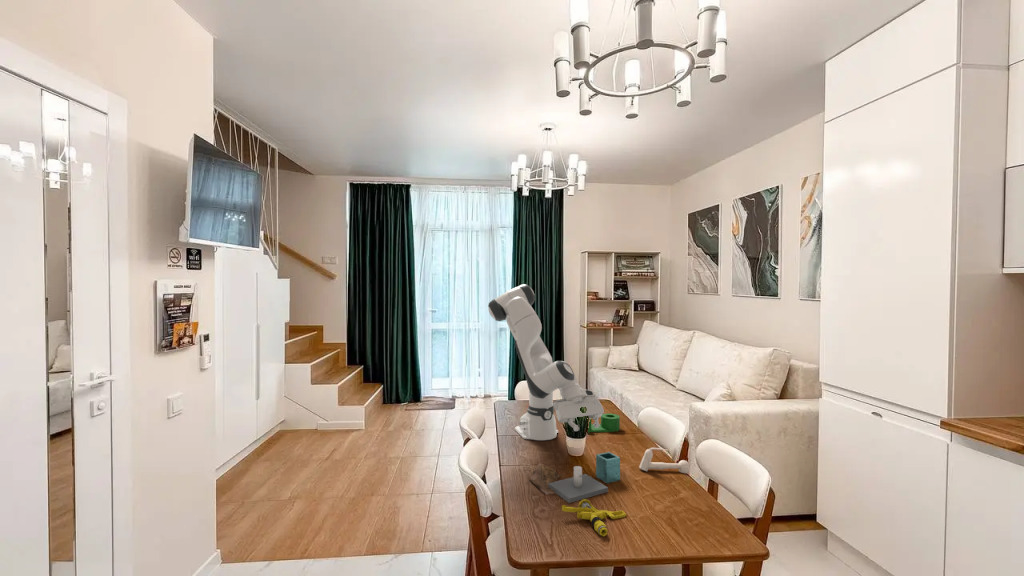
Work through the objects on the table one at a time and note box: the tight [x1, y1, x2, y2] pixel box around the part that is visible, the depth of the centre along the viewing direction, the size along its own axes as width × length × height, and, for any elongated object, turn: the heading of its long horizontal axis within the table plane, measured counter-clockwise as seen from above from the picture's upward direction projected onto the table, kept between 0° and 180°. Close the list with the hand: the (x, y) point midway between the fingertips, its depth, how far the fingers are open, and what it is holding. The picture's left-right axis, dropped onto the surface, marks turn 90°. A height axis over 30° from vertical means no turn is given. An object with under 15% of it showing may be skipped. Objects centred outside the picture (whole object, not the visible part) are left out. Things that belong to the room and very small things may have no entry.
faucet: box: [639, 447, 691, 474], centre depth 160 cm, size 4×18×10 cm, turn 86°
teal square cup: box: [595, 451, 621, 484], centre depth 153 cm, size 6×6×8 cm
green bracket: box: [587, 413, 621, 434], centre depth 208 cm, size 18×9×6 cm, turn 97°
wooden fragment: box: [529, 463, 561, 496], centre depth 153 cm, size 26×11×1 cm, turn 179°
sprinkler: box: [561, 498, 627, 537], centre depth 124 cm, size 19×4×15 cm
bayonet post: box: [548, 465, 609, 504], centre depth 144 cm, size 12×16×8 cm
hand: (587, 428), depth 164 cm, fingers open, 8 cm apart
